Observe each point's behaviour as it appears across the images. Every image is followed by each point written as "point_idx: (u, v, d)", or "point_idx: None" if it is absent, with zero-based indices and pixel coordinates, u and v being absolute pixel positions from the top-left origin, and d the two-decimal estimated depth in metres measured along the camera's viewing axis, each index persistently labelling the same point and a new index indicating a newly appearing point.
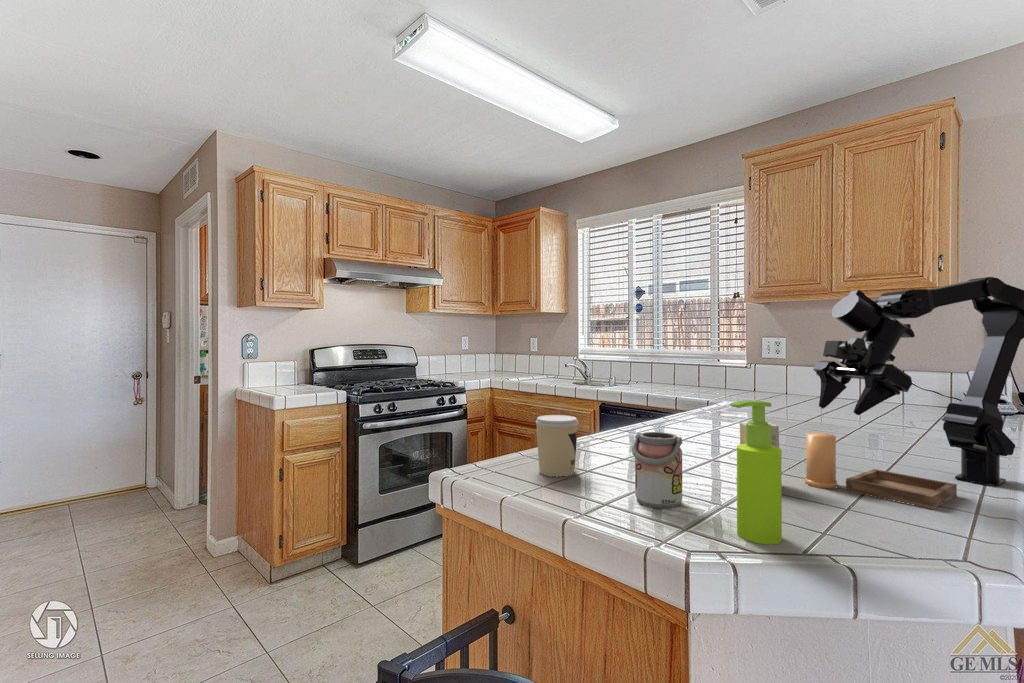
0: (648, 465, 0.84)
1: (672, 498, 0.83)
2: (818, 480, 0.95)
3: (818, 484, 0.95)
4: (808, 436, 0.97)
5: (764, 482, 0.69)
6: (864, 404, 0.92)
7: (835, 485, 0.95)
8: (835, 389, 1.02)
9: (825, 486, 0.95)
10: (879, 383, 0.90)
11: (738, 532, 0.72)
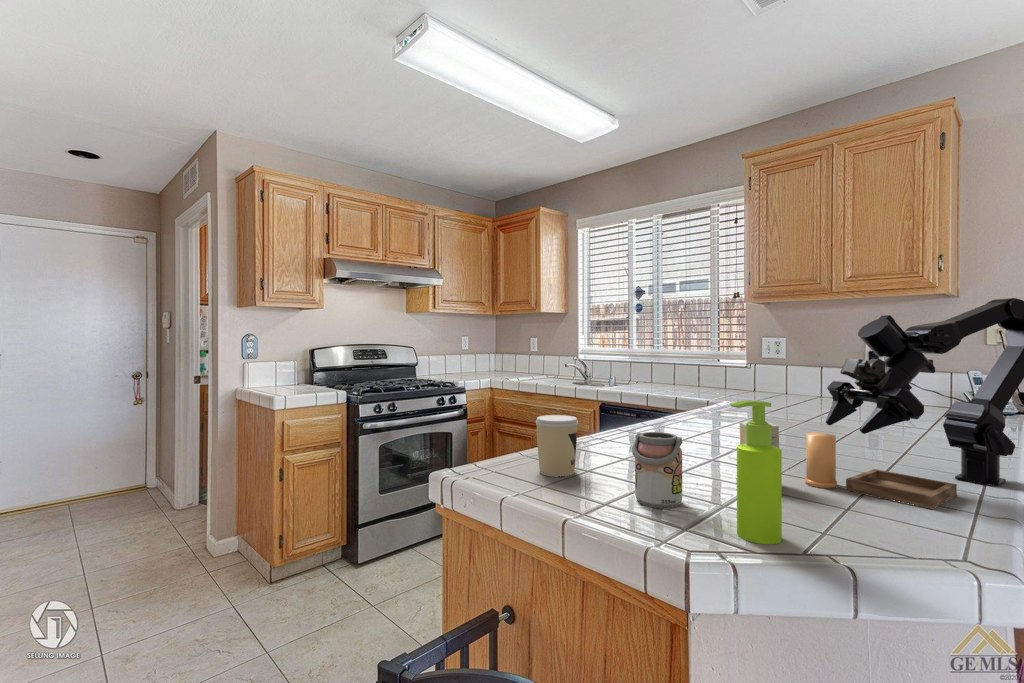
0: (648, 465, 0.84)
1: (672, 498, 0.83)
2: (818, 480, 0.95)
3: (818, 484, 0.95)
4: (808, 436, 0.97)
5: (764, 482, 0.69)
6: (871, 423, 0.92)
7: (835, 485, 0.95)
8: (845, 409, 1.03)
9: (825, 486, 0.95)
10: (891, 405, 0.91)
11: (738, 532, 0.72)
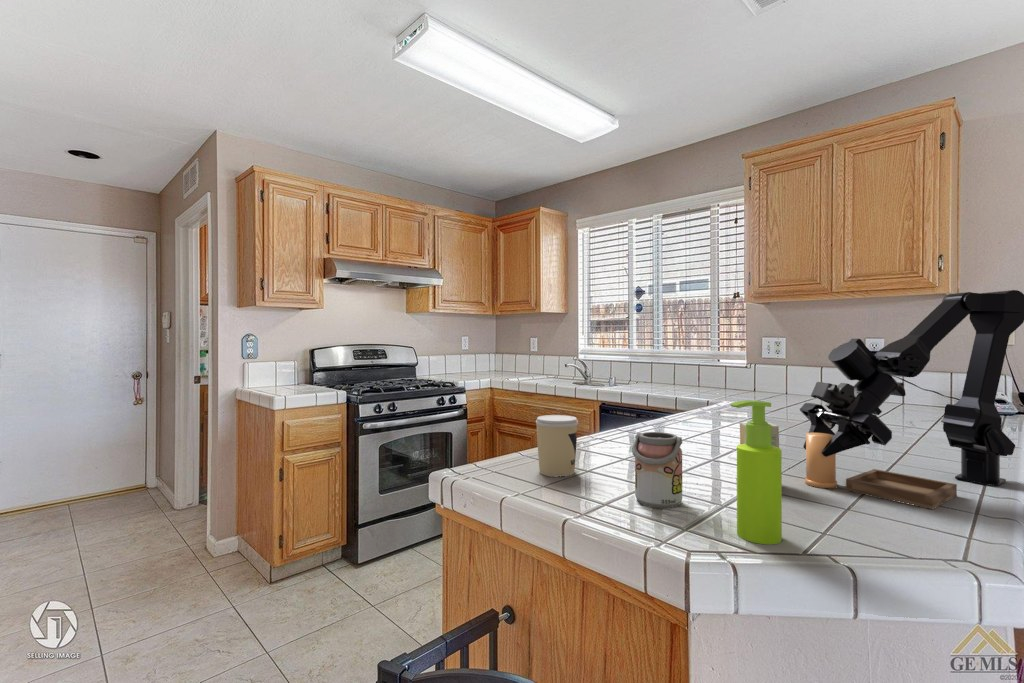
0: (648, 465, 0.84)
1: (672, 498, 0.83)
2: (818, 480, 0.95)
3: (818, 484, 0.95)
4: (808, 436, 0.97)
5: (764, 482, 0.69)
6: (833, 447, 0.94)
7: (835, 485, 0.95)
8: None
9: (825, 486, 0.95)
10: (851, 429, 0.92)
11: (738, 532, 0.72)
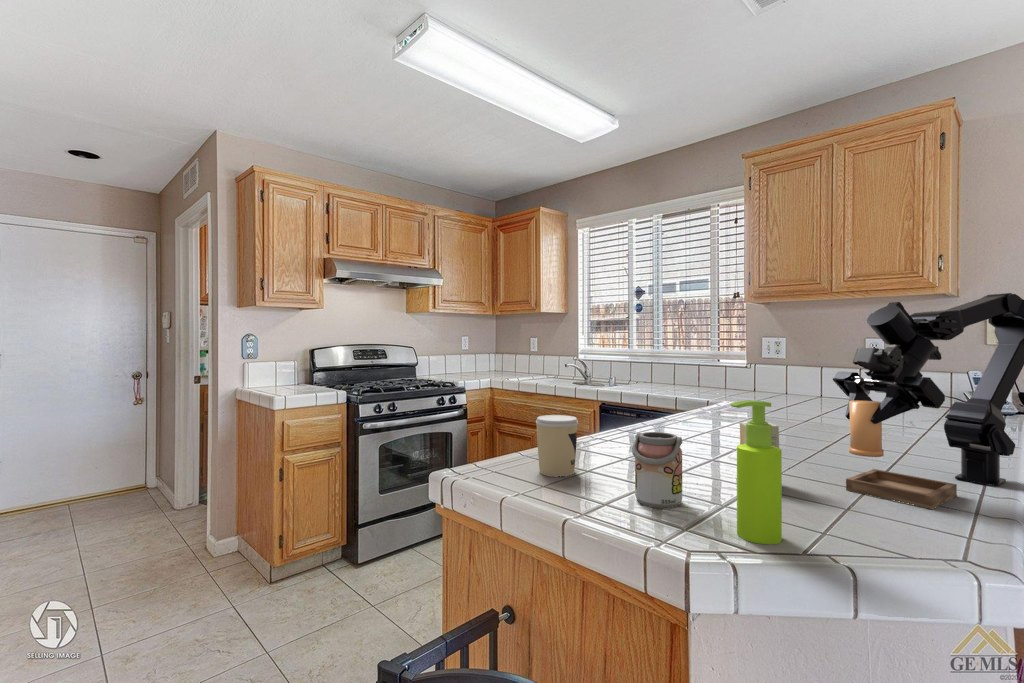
0: (648, 465, 0.84)
1: (672, 498, 0.83)
2: (866, 449, 0.92)
3: (867, 453, 0.91)
4: (853, 404, 0.93)
5: (764, 482, 0.69)
6: (882, 413, 0.90)
7: (883, 453, 0.92)
8: None
9: (874, 454, 0.91)
10: (902, 393, 0.89)
11: (738, 532, 0.72)
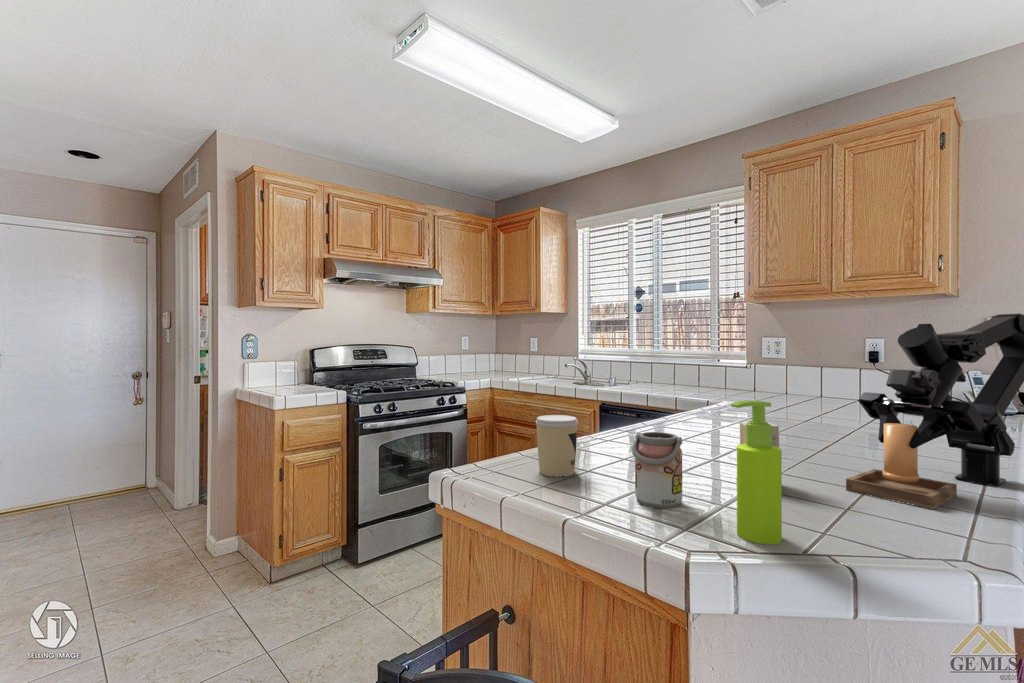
0: (648, 465, 0.84)
1: (672, 498, 0.83)
2: (904, 474, 0.89)
3: (905, 478, 0.89)
4: (890, 427, 0.91)
5: (764, 482, 0.69)
6: (920, 437, 0.89)
7: (918, 477, 0.90)
8: None
9: (912, 479, 0.89)
10: (940, 418, 0.87)
11: (738, 532, 0.72)
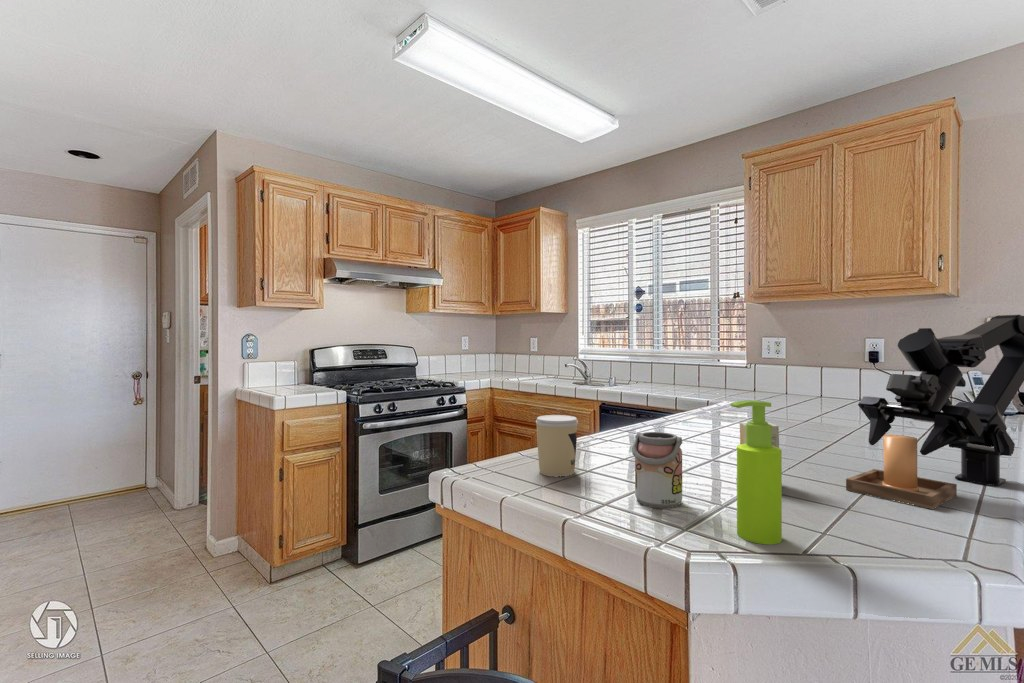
0: (648, 465, 0.84)
1: (672, 498, 0.83)
2: (904, 486, 0.89)
3: None
4: (890, 439, 0.91)
5: (764, 482, 0.69)
6: (931, 444, 0.87)
7: (918, 489, 0.90)
8: (883, 427, 0.97)
9: None
10: (952, 424, 0.86)
11: (738, 532, 0.72)
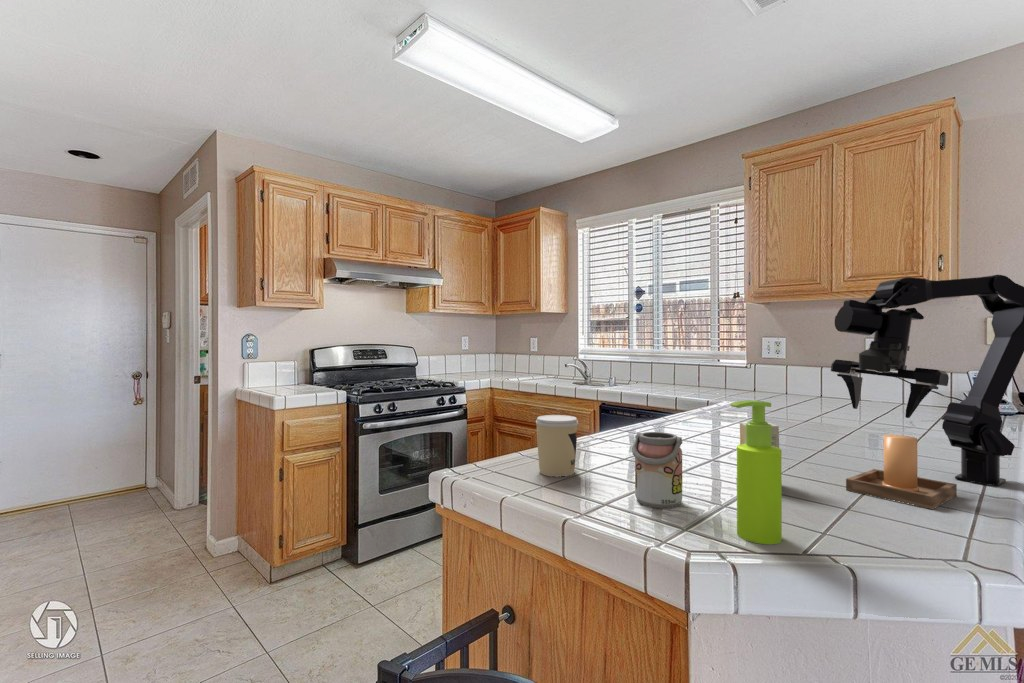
0: (648, 465, 0.84)
1: (672, 498, 0.83)
2: (904, 486, 0.89)
3: None
4: (890, 439, 0.91)
5: (764, 482, 0.69)
6: (912, 407, 0.96)
7: (918, 490, 0.90)
8: (858, 385, 1.05)
9: None
10: (926, 387, 0.94)
11: (738, 532, 0.72)
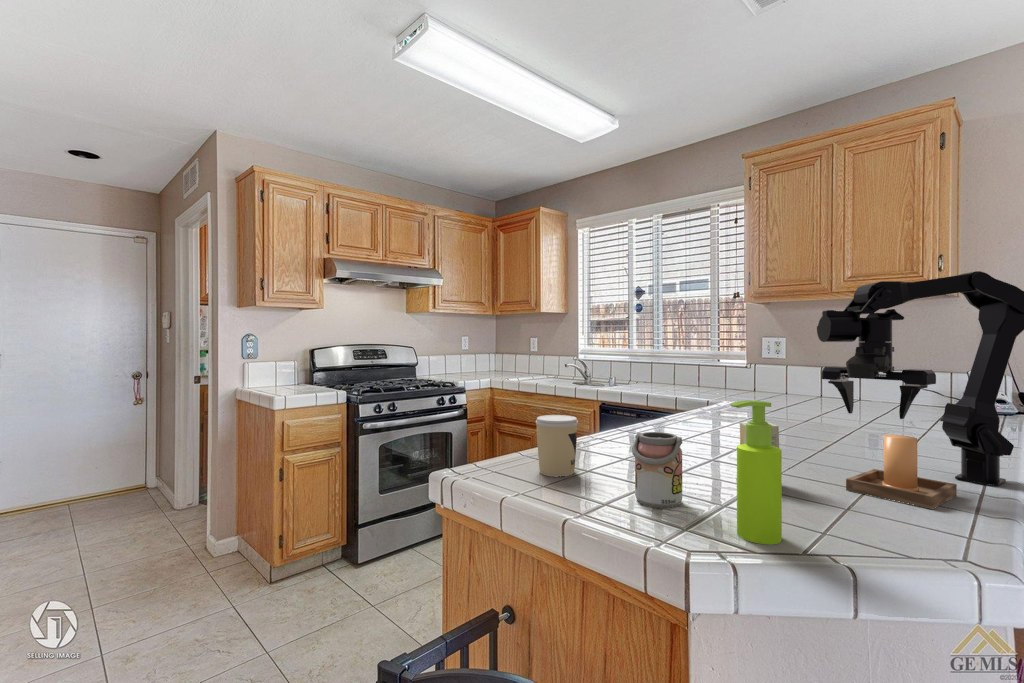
0: (648, 465, 0.84)
1: (672, 498, 0.83)
2: (904, 486, 0.89)
3: None
4: (890, 439, 0.91)
5: (764, 482, 0.69)
6: (905, 408, 0.98)
7: (918, 490, 0.90)
8: (850, 389, 1.07)
9: None
10: None
11: (738, 532, 0.72)
